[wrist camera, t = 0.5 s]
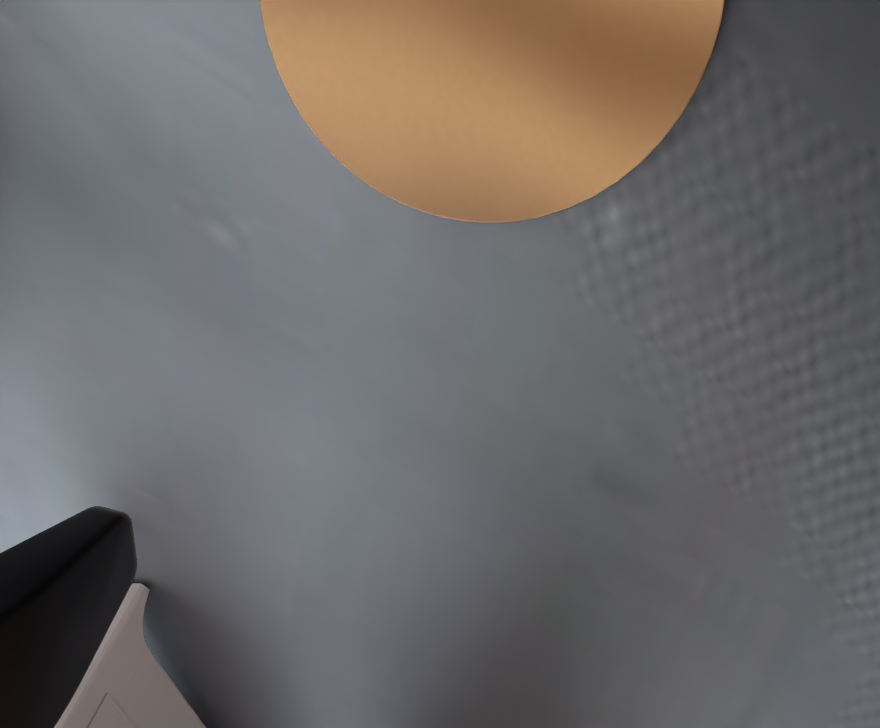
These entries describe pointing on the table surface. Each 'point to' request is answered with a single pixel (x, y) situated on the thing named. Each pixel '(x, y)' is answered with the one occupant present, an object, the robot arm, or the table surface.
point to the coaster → (491, 93)
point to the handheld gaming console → (128, 680)
